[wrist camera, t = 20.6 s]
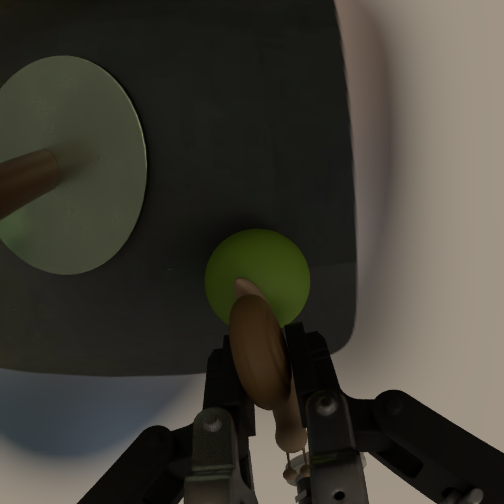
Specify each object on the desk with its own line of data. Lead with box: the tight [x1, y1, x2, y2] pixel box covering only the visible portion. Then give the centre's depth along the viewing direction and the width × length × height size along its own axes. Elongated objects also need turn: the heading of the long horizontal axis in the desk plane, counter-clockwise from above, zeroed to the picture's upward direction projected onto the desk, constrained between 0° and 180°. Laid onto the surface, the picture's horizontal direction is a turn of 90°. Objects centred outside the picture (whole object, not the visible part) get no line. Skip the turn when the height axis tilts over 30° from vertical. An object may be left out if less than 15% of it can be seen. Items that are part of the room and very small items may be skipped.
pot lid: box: [0, 55, 149, 275], centre depth 13 cm, size 15×15×7 cm
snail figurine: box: [204, 229, 310, 480], centre depth 13 cm, size 5×6×12 cm
